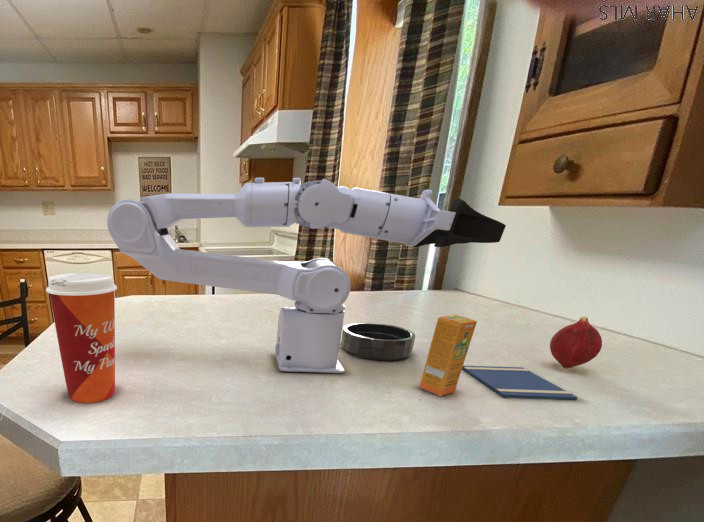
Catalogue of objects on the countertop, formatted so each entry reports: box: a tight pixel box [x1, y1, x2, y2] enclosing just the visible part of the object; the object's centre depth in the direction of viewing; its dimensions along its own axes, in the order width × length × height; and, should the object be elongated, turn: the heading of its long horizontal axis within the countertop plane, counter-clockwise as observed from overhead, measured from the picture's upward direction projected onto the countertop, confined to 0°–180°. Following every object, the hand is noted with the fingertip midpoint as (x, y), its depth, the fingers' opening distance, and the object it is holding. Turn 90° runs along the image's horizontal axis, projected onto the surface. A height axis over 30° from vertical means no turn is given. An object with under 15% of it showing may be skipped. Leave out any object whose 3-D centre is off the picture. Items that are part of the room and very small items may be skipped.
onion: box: [549, 316, 603, 369], centre depth 64 cm, size 6×6×8 cm
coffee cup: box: [45, 272, 118, 404], centre depth 53 cm, size 8×8×15 cm
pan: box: [340, 322, 416, 362], centre depth 72 cm, size 11×11×4 cm
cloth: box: [462, 365, 578, 401], centre depth 60 cm, size 9×11×1 cm
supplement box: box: [419, 314, 478, 397], centre depth 55 cm, size 3×3×10 cm
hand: (485, 234), depth 56 cm, fingers open, 7 cm apart
